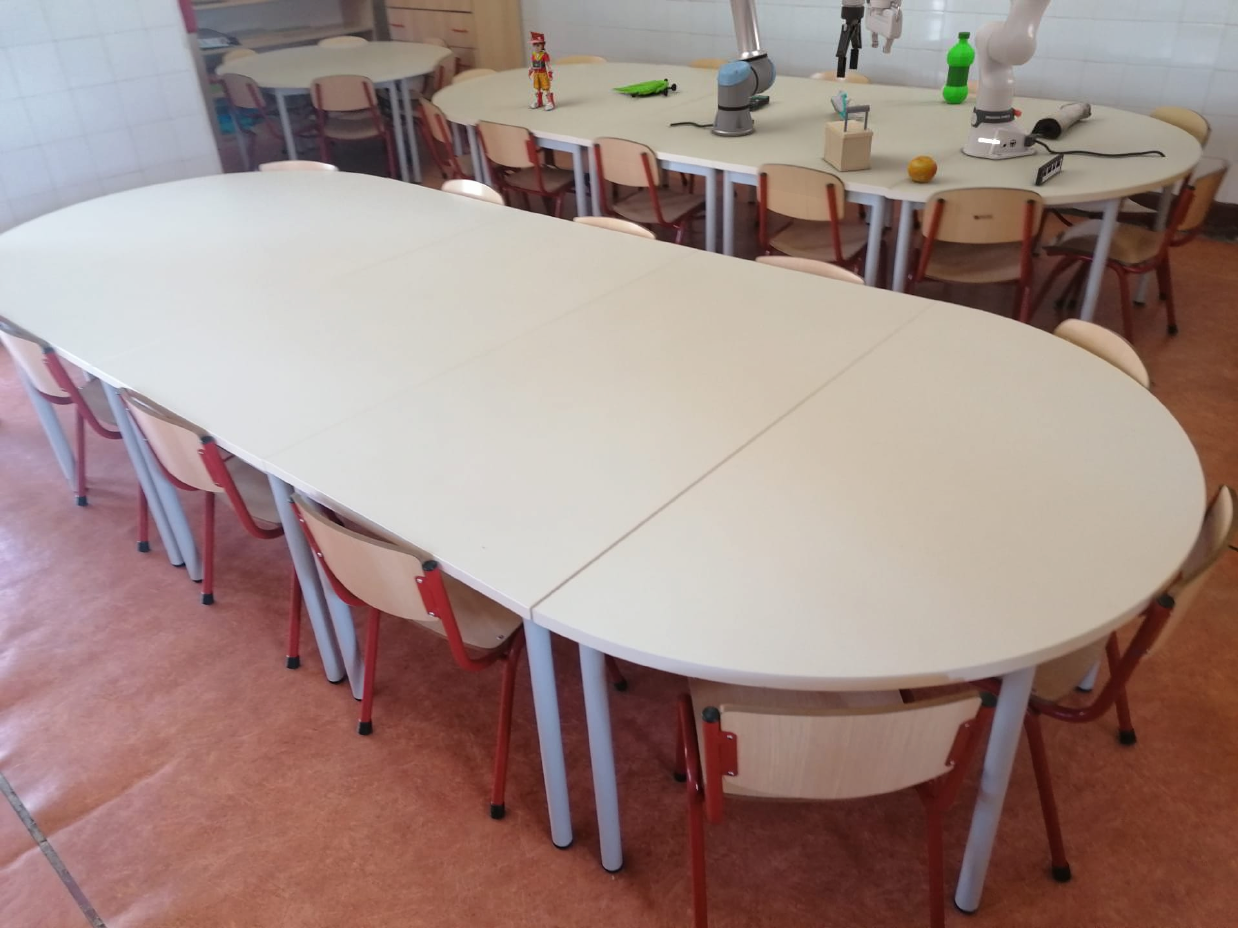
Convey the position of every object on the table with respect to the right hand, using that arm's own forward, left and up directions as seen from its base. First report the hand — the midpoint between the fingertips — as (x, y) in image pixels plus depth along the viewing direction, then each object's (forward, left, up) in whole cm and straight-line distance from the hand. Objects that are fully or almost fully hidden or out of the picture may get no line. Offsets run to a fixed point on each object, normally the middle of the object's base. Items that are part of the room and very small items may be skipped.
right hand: (880, 50), depth 275 cm
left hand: (-1, -34, -13) cm, 37 cm away
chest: (+7, -3, -35) cm, 36 cm away
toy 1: (+105, -113, -35) cm, 158 cm away
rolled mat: (-77, -22, -35) cm, 87 cm away
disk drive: (+20, -88, -35) cm, 97 cm away
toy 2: (+61, -128, -35) cm, 146 cm away
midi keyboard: (-47, +28, -35) cm, 65 cm away
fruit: (-10, +20, -35) cm, 42 cm away
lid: (+7, -3, -24) cm, 25 cm away
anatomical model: (-11, -61, -35) cm, 71 cm away
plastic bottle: (-58, -69, -35) cm, 97 cm away
